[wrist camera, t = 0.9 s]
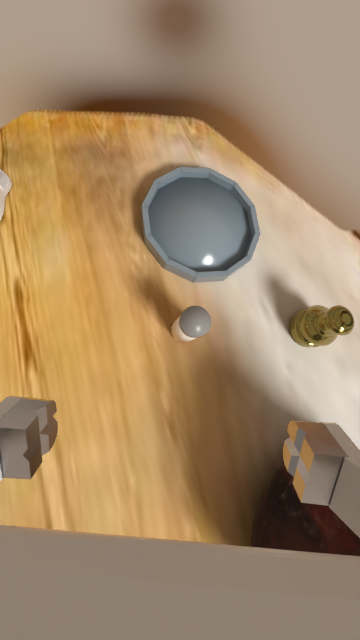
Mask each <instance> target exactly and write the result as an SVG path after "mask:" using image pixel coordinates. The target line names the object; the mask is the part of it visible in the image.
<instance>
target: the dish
mask: <svg viewBox="0 0 360 640" xmlns="http://www.w3.org/2000/svg"><path fill="white" fill-rule="evenodd" d="M141 219H142V228H143V236H144V243H145V244H146V246H147V247H148V248H149V250H150V251H151V252H152V254H153V255H154V256H155V258H156V259H157V260H158V262H159V263H160V264H161V266H162V267H163V268H164V269H166V270H168V271H170V272H172V273H174V274H176V275H178V276H180V277H182V278H185V279H187V280H189V281H191V282H210V281H223V280H225V279H226V278H227V277H229V276H230V275H232V274H233V273H234V272H236V271H237V270H239V269H240V268H241V267H243V266H244V265H245V264H246V263H248V262H249V261H250V260H251V258H252V255H253V253H254V250H255V247H256V244H257V242H258V239H259V236H260V230H259V225H258V220H257V215H256V210H255V206H254V204H253V203H252V202H251V201H250V199H249V198H248V197H247V195H246V194H245V193H244V191H243V190H242V189H241V188H240V186H239V185H238V184H237V183H236V182H235V181H233V180H231V179H229V178H227V177H225V176H224V175H222V174H220V173H218V172H216V171H214V170H212V169H209V168H197V167H179V168H177V169H175V170H173V171H171V172H169V173H167V174H165V175H163V176H161V177H159V178H157V179H156V180H155V181H154V183H153V185H152V186H151V188H150V190H149V192H148V194H147V196H146V198H145V200H144V202H143V204H142V208H141Z"/></svg>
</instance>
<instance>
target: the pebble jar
mask: <svg viewBox="0 0 360 640" xmlns="http://www.w3.org/2000/svg"><path fill="white" fill-rule="evenodd" d="M210 327H211V317H210V315H209V313H208V312H207V311H206V310H205V309H204V308H202V307H199V306H191V307H188V308H187V309H185V310H184V311H183V313H182V314H181V315H180V316H179V317H178V318H177V319H176V320H175V321H174V322H173V324H172V326H171V334H172V337H173V338H174V339H175V340H176V341H178V342H180V343H187V342H189V341H191V340H193V339H196V338H199V337H201V336H203V335H205V334H206V333H207V332H208V331H209V329H210Z"/></svg>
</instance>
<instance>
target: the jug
mask: <svg viewBox="0 0 360 640" xmlns="http://www.w3.org/2000/svg"><path fill="white" fill-rule="evenodd" d="M293 480H294V477H293V476H292V475H291V474H290V473H289V472H288V471H287V469H286V467H285V465H283V466H282V467H281V468H280V469H279V470H278V471H277V472H276V473H275V474H274V476H273V478H272V479H271V481H270V483H269V484H268V486H267V487H266V489H265V491H264V493H263V496H262V498H261V500H260V503H259V505H258V508H257V511H256V514H255V518H254V523H253V528H252V537H251V547H259V548H270V549H281V550H293V551H304V552H316V553H327V554H339V555H351V556H360V538H359V537H358V536H357V535H356V534H355V533H354V532H353V531H352V530H351V529H350V528H349V527H348V526H347V525H346V524H345V523H344V522H343V521H342V520H341V519H340V518H339V517H338V516H337V515H336V514H335V513H334V512H333V511H332V510H331V509H330V508H329V506H326V505H318V504H309V503H301V501H300V499H299V497H298V494H297V492H296V490H295V488H294V485H293Z"/></svg>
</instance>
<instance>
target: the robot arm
mask: <svg viewBox="0 0 360 640" xmlns="http://www.w3.org/2000/svg"><path fill="white" fill-rule="evenodd" d="M11 186H12V181H11V180H10V178H9V177H8V176H7V175H6V174H5V173H4V172H3V171H2V170H1V169H0V220H1V218H2V216H3V212H4V205H5V197H6V195H7V193H8V192H9V190H10V188H11ZM56 411H57V409H56V402H55V401H54V400H46V399H37V398H28V397H17V396H9V397H6V398H5V399H4V400H3V401H2V402H1V403H0V481H1V480H2V479H3V478H16V479H31V478H32V477H33V475H34V474H35V472H36V471H37V469H38V468H39V466H40V465H41V463H42V455H44V454H45V453H47V452H49V451H50V449H51V448H52V446H53V445H54V442H55V439H56V436H57V430H58V423H57V421H56V420H55V418H54V417H53V415H54V414H55V413H56ZM287 432H288V434H289V436H290V437H289V438H288V439H287V440H285V441H284V446H283V460H284V464H285V467H286V469H287V471H288V472H289V473H290V474H291V475H292V476H293V477H294V480H293V485H294V488H295V490H296V492H297V494H298V497H299V499H300V501H301V503H309V504H318V505H326V506H329V508H330V509H331V510H332V511H333V512H334V513H335V514H336V515H337V516H338V517H339V518H340V519H341V520H342V521H343V522H344V523H345V524H346V525H347V526H348V527H349V528H350V529H351V530H352V531H353V532H354V533H355V534H356V535H357V536H358V537H359V538H360V450H359V449H358V448H357V447H356V445H355V444H354V443H353V442H352V441H351V439H350V438H349V437H348V436H347V434H346V433H345V432H344V431H343V430H342V428H341V427H340V426H339V425H337V424H336V423H323V422H320V423H316V422H303V421H290V423H289V424H288V428H287ZM0 640H360V556H351V555H339V554H327V553H316V552H304V551H293V550H281V549H270V548H259V547H248V546H236V545H225V544H214V543H202V542H191V541H179V540H167V539H156V538H144V537H133V536H121V535H110V534H98V533H86V532H75V531H63V530H52V529H40V528H29V527H17V526H6V525H0Z"/></svg>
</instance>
